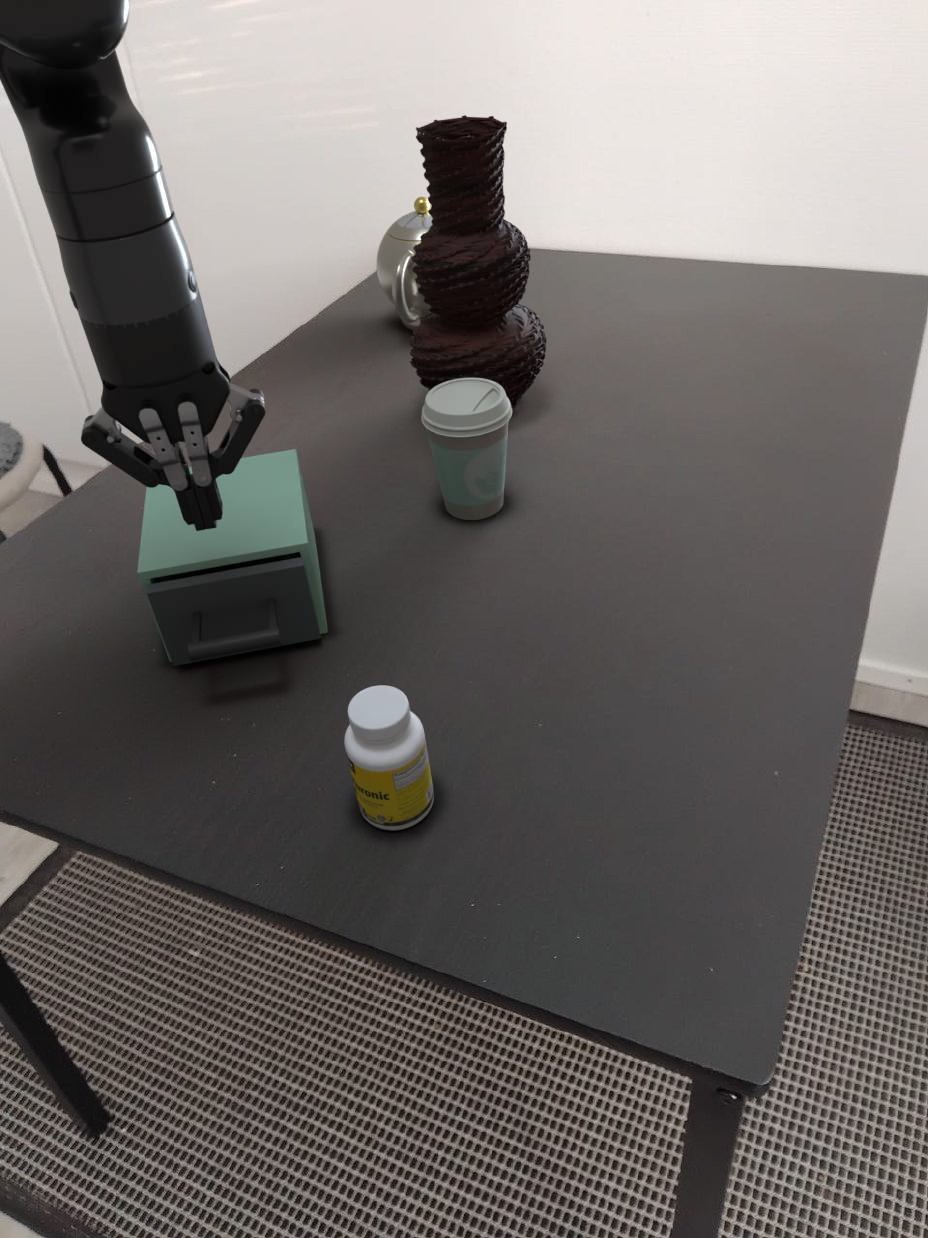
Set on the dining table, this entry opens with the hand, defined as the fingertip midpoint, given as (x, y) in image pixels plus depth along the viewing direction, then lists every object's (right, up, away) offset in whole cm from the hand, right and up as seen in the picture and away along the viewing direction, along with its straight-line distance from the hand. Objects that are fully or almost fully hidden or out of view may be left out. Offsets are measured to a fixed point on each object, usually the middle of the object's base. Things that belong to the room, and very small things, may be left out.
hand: (206, 523), depth 72 cm
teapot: (+14, +33, +61) cm, 70 cm away
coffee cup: (+20, +4, +26) cm, 33 cm away
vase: (+21, +18, +42) cm, 50 cm away
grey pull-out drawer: (0, -7, +13) cm, 15 cm away
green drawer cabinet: (-1, -5, +18) cm, 18 cm away
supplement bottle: (+14, -20, -3) cm, 25 cm away
